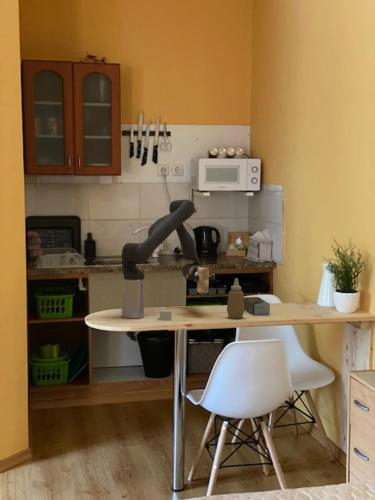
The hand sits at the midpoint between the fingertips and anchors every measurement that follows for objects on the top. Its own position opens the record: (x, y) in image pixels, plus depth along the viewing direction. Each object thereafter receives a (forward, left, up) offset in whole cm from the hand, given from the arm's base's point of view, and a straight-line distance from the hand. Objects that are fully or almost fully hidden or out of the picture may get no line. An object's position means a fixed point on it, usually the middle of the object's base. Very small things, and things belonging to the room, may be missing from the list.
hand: (204, 278), depth 290 cm
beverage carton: (+21, +23, -18) cm, 36 cm away
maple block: (-1, +2, -6) cm, 7 cm away
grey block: (-15, -10, -18) cm, 25 cm away
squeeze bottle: (+14, +4, -18) cm, 23 cm away
